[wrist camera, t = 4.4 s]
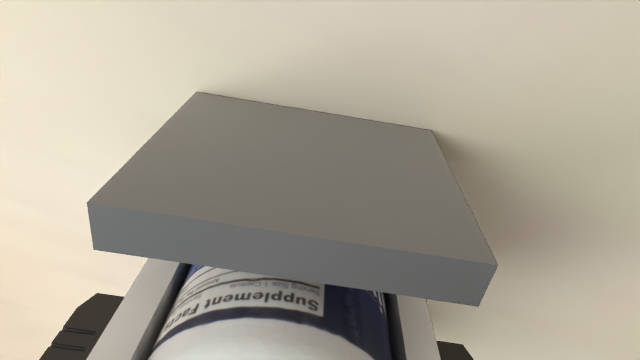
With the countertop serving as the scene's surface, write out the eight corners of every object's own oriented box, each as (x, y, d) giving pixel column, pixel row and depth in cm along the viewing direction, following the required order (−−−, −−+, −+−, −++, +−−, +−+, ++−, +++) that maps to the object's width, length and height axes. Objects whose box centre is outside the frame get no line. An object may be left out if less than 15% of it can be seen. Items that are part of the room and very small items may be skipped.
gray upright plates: (196, 91, 12) (87, 202, 7) (431, 130, 12) (498, 264, 7) (194, 301, 16) (125, 469, 11) (370, 326, 17) (384, 502, 11)
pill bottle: (378, 281, 15) (427, 694, 7) (237, 289, 16) (120, 683, 7) (370, 149, 13) (433, 551, 4) (201, 164, 13) (-43, 550, 5)
